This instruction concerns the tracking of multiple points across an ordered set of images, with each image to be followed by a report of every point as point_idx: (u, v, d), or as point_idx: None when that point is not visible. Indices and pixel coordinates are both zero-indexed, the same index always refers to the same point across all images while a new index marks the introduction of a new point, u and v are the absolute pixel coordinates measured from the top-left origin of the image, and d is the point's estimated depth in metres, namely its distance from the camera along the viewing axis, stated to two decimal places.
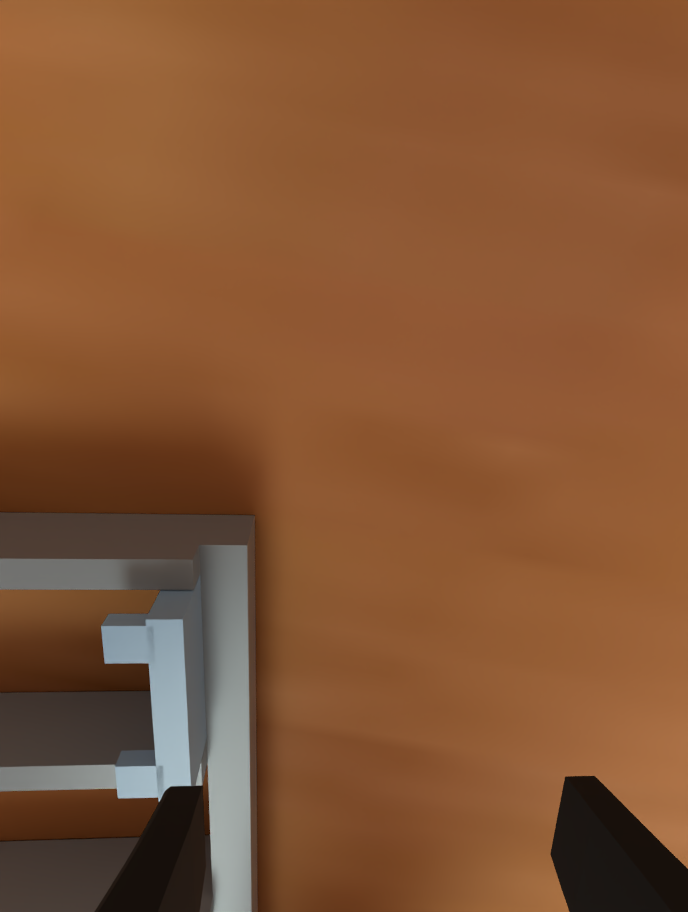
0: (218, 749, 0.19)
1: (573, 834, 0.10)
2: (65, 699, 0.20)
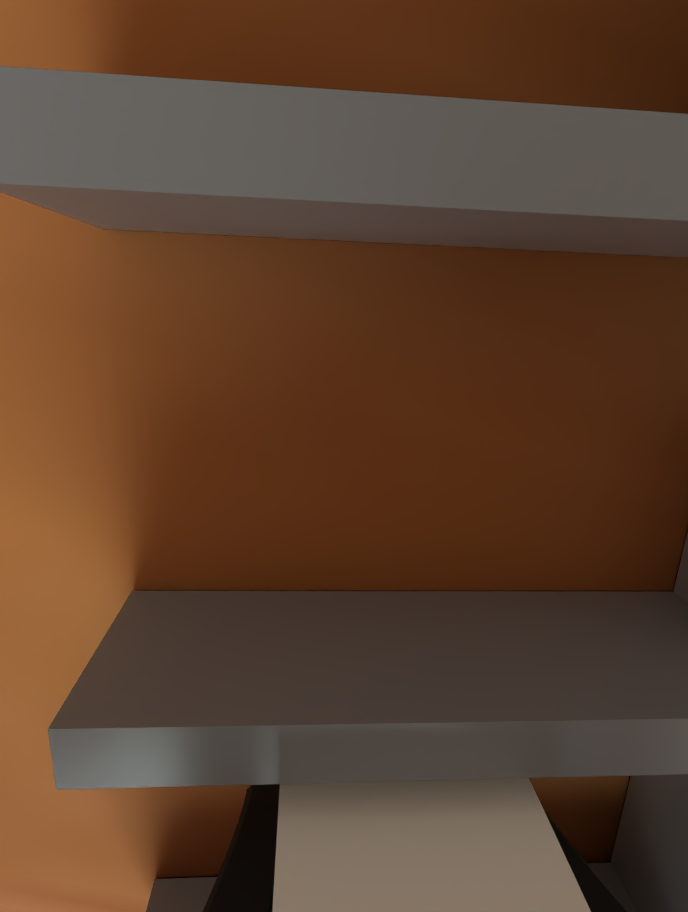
0: None
1: None
2: None
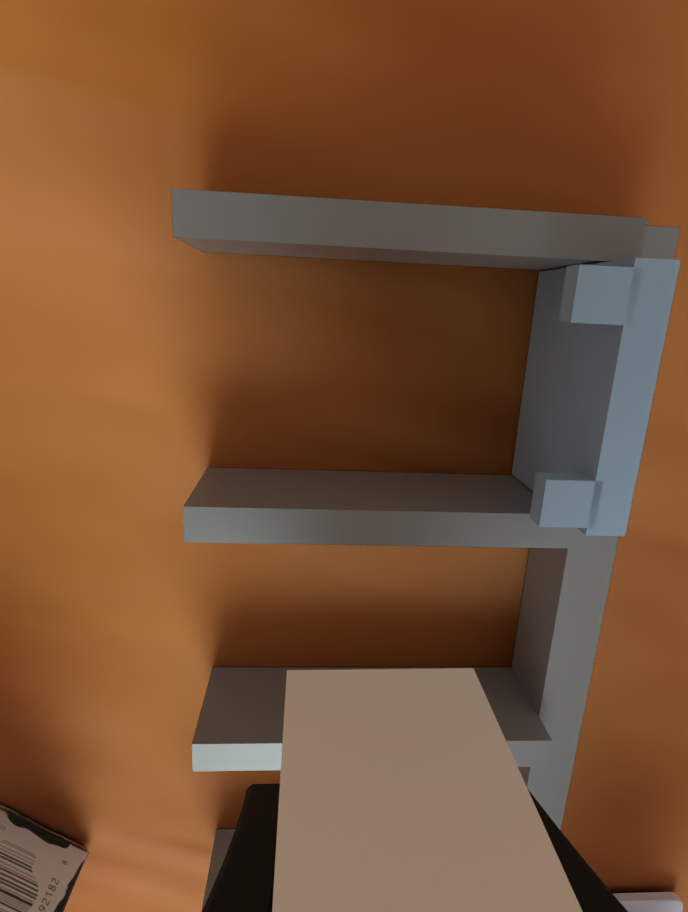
0: None
1: None
2: (373, 475, 0.17)
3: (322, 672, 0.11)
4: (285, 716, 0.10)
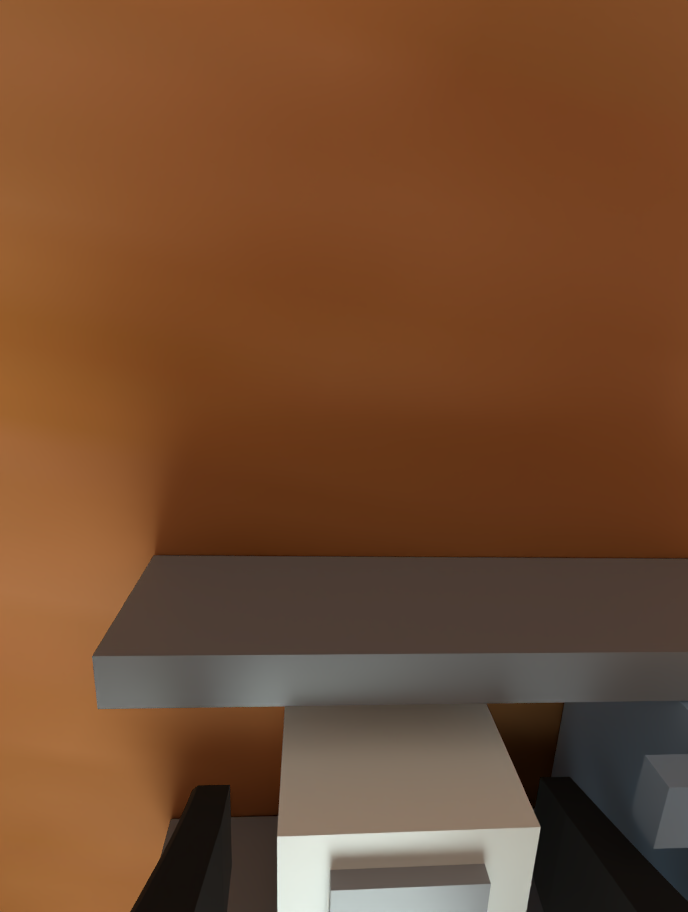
0: None
1: (547, 835, 0.10)
2: None
3: None
4: None
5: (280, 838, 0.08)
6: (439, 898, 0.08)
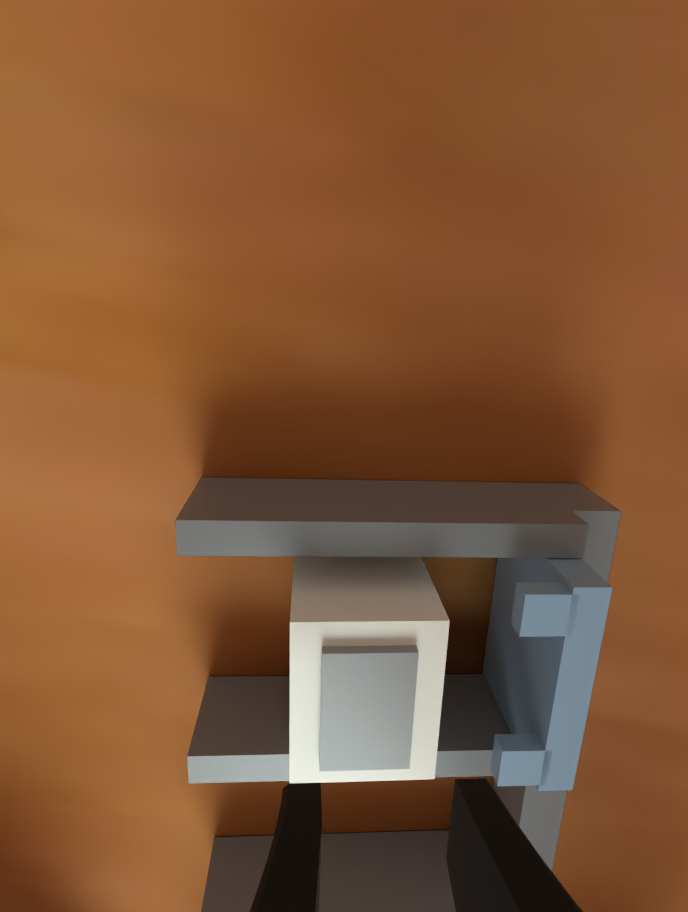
0: None
1: (459, 838, 0.10)
2: None
3: None
4: None
5: (291, 623, 0.13)
6: (387, 661, 0.13)
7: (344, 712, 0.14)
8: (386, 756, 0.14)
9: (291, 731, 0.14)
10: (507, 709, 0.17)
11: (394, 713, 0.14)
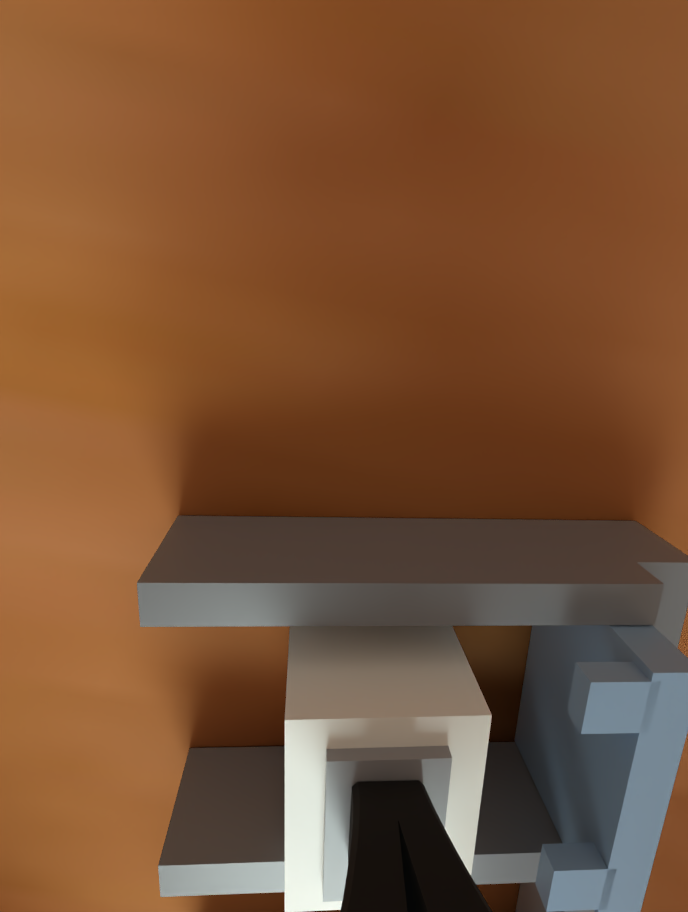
0: None
1: None
2: None
3: None
4: None
5: (287, 721, 0.10)
6: (411, 770, 0.10)
7: None
8: None
9: (287, 851, 0.11)
10: (550, 796, 0.14)
11: None
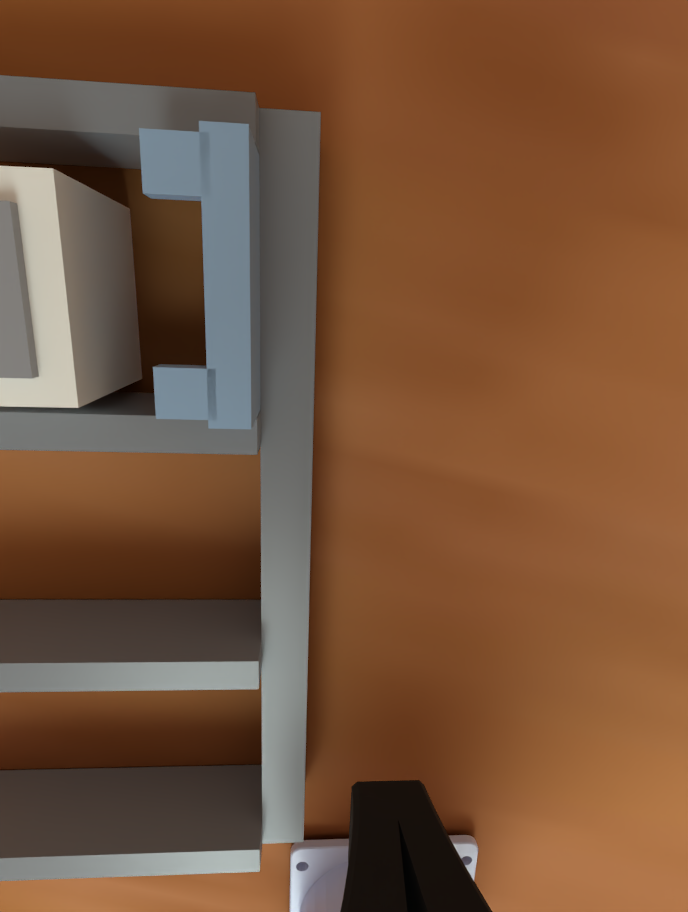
0: (274, 426, 0.15)
1: None
2: None
3: None
4: None
5: None
6: None
7: None
8: None
9: None
10: None
11: None
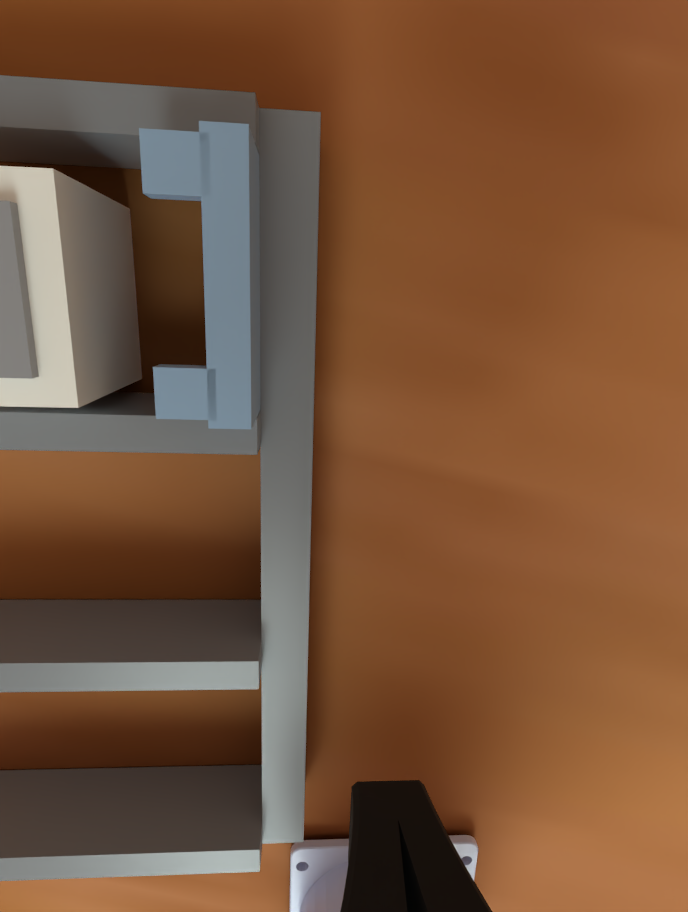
0: (274, 426, 0.15)
1: None
2: None
3: None
4: None
5: None
6: None
7: None
8: None
9: None
10: None
11: None
